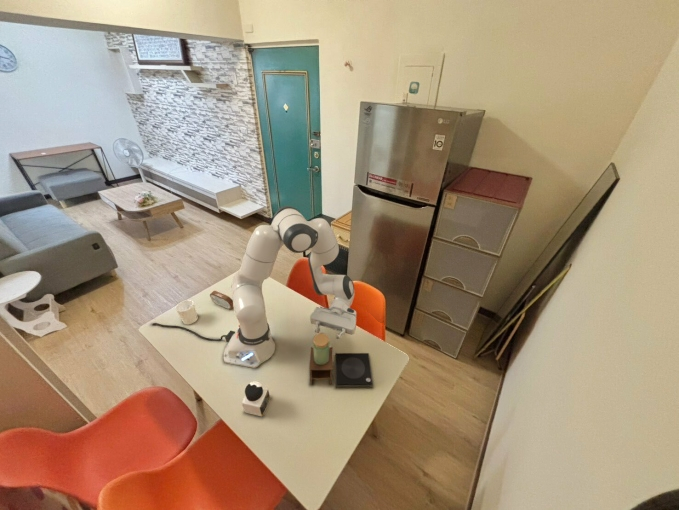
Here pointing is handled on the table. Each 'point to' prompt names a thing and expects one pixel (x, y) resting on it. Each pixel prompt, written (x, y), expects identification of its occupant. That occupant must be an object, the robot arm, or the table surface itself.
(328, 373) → the wooden cubby
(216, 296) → the tin
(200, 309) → the table surface
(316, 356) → the jar
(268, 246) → the robot arm
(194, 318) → the white cup
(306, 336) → the table surface
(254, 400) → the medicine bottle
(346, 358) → the hot plate
